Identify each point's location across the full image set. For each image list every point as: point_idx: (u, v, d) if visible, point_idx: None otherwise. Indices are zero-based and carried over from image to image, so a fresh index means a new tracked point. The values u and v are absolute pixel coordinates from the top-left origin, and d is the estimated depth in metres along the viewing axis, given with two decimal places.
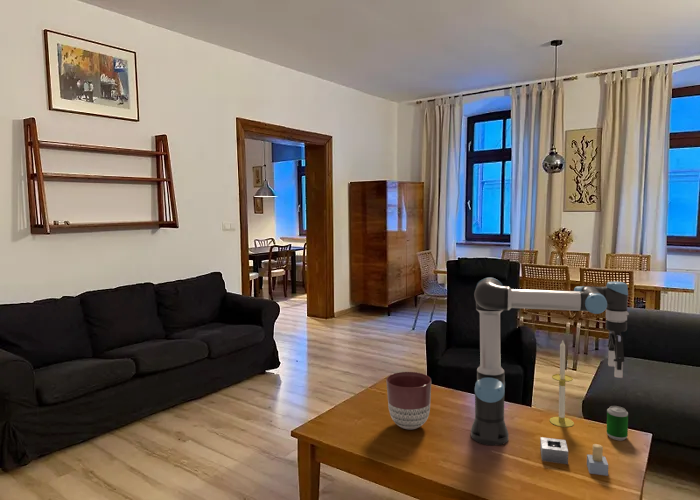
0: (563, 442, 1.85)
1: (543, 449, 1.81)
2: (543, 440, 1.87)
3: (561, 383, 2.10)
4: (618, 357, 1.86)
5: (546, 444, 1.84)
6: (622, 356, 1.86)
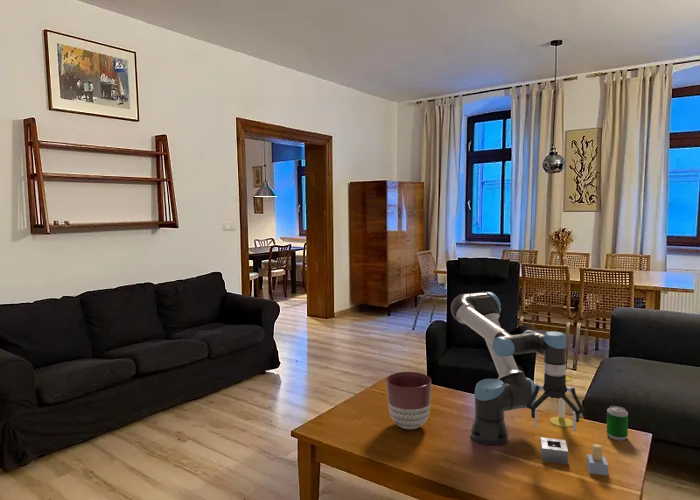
0: (563, 442, 1.85)
1: (543, 449, 1.81)
2: (543, 440, 1.87)
3: None
4: (527, 402, 1.86)
5: (546, 444, 1.84)
6: (528, 402, 1.84)
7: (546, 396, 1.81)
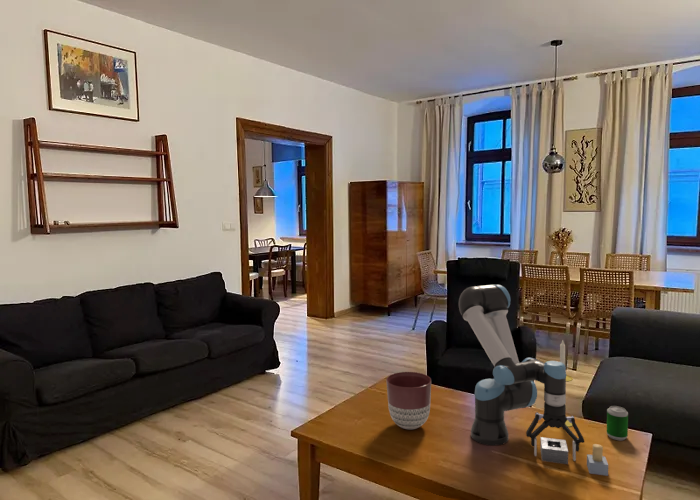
0: (563, 442, 1.85)
1: (543, 449, 1.81)
2: (543, 440, 1.87)
3: None
4: (527, 430, 1.87)
5: (546, 444, 1.84)
6: (528, 431, 1.86)
7: (546, 425, 1.82)
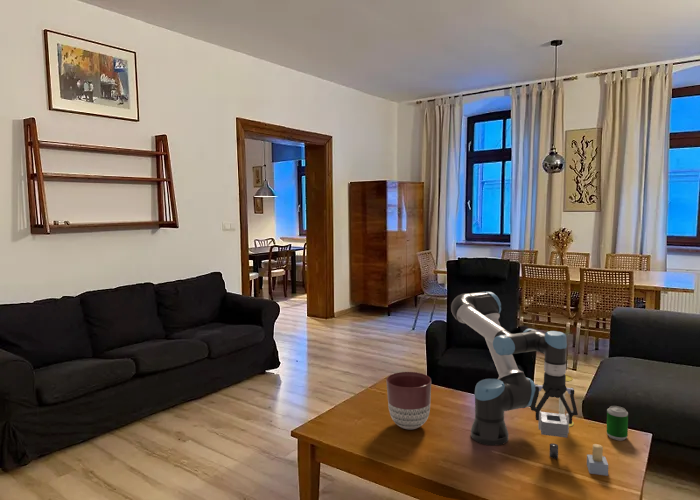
0: (562, 416, 1.84)
1: (543, 423, 1.80)
2: (543, 415, 1.86)
3: None
4: (531, 404, 1.86)
5: (546, 418, 1.83)
6: (531, 405, 1.85)
7: (547, 396, 1.81)
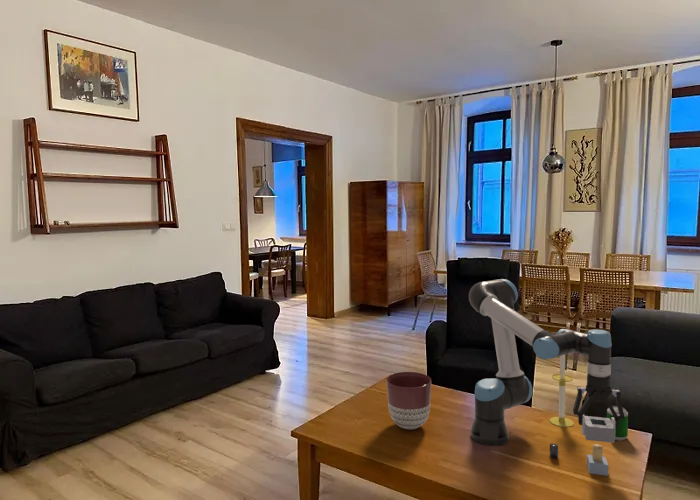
0: (607, 420, 1.74)
1: (587, 427, 1.70)
2: (586, 419, 1.75)
3: (561, 383, 2.10)
4: (573, 408, 1.75)
5: (590, 422, 1.72)
6: (574, 408, 1.74)
7: (591, 399, 1.71)
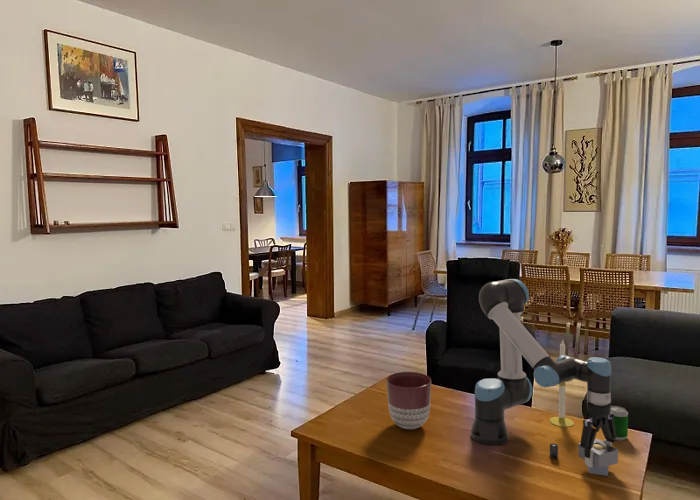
0: (599, 441, 1.77)
1: (600, 455, 1.68)
2: None
3: (561, 383, 2.10)
4: (581, 443, 1.70)
5: (594, 449, 1.71)
6: (585, 443, 1.69)
7: (598, 429, 1.70)
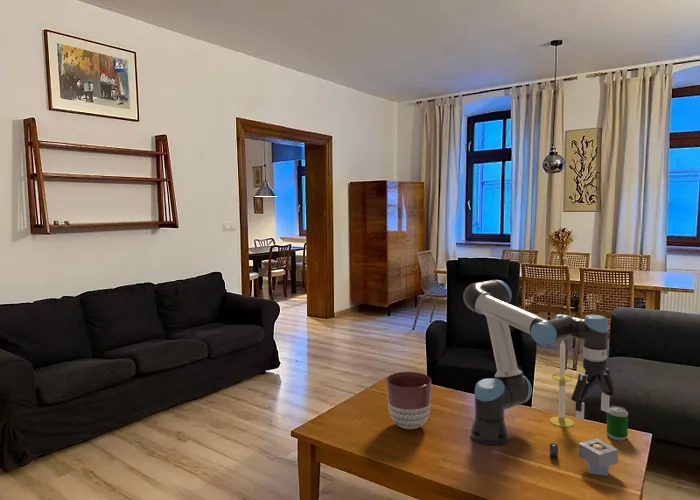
0: (599, 441, 1.77)
1: (600, 455, 1.68)
2: (586, 446, 1.74)
3: (561, 383, 2.10)
4: (573, 396, 1.70)
5: (594, 449, 1.71)
6: (577, 396, 1.69)
7: (592, 384, 1.71)
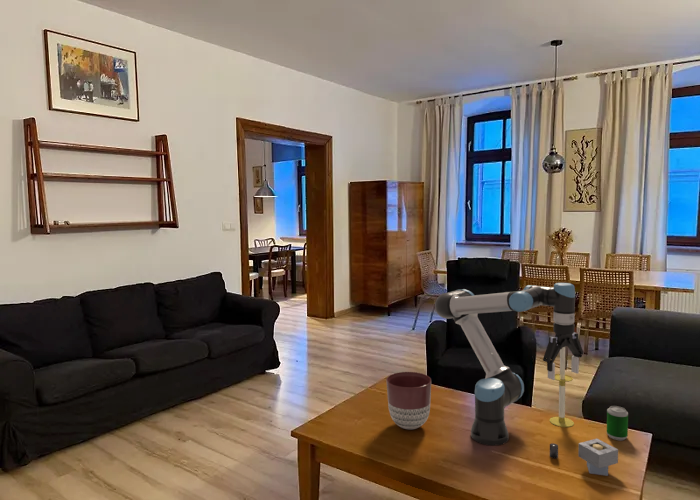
0: (599, 441, 1.77)
1: (600, 455, 1.68)
2: (586, 446, 1.74)
3: (561, 383, 2.10)
4: (544, 357, 1.85)
5: (594, 449, 1.71)
6: (548, 357, 1.84)
7: (561, 346, 1.86)
